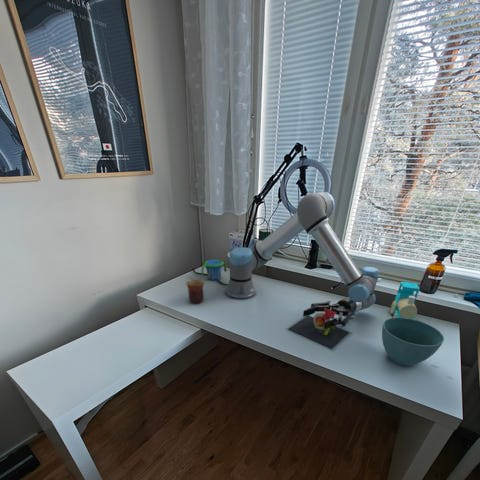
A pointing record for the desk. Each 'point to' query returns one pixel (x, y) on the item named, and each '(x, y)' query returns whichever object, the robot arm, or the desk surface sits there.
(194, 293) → the mug
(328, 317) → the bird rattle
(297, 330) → the mat
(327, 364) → the desk surface
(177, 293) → the desk surface
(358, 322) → the desk surface
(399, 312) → the toy train
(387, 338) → the teal green bowl
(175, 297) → the desk surface
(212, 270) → the snack cup
